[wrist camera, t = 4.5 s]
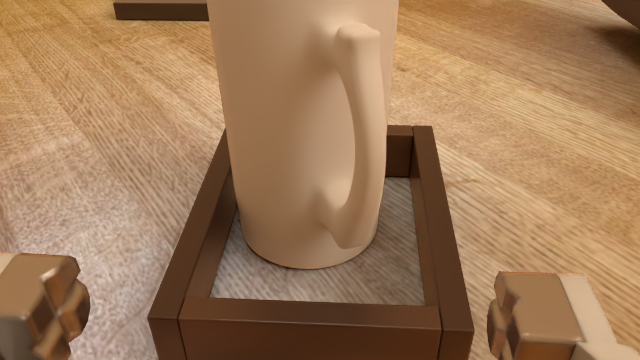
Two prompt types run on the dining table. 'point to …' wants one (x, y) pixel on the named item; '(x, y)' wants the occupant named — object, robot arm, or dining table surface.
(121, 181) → the dining table surface
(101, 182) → the dining table surface
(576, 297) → the robot arm
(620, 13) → the bluetooth speaker
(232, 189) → the brown wooden frame
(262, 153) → the mug
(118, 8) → the hob
